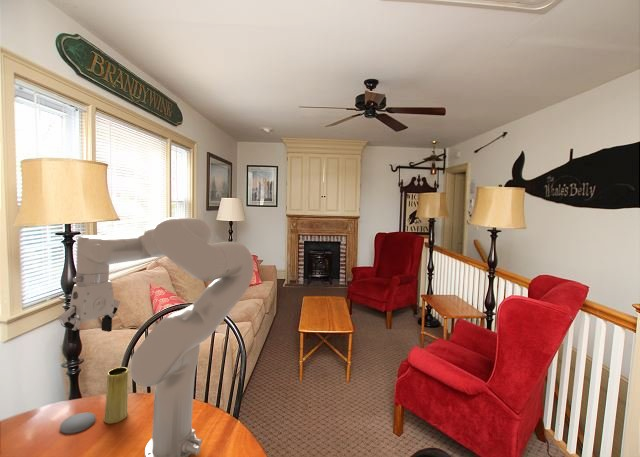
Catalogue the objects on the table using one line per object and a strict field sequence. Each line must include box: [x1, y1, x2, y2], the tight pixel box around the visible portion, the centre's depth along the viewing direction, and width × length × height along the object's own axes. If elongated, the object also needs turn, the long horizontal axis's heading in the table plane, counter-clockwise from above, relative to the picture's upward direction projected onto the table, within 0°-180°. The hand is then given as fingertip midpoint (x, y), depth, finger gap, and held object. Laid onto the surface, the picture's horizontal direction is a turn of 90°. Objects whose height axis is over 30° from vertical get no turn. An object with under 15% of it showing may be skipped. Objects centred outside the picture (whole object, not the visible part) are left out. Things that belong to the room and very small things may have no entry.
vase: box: [103, 366, 129, 424], centre depth 92 cm, size 6×6×14 cm
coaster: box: [59, 411, 96, 435], centre depth 89 cm, size 8×8×1 cm
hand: (91, 336), depth 89 cm, fingers open, 9 cm apart
